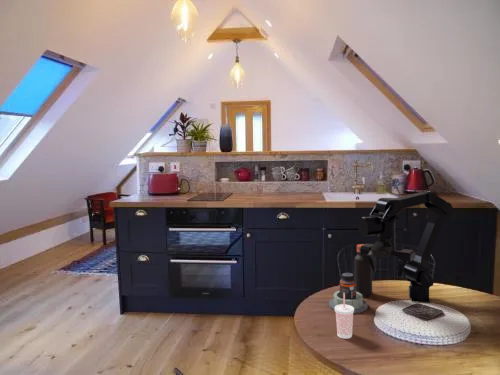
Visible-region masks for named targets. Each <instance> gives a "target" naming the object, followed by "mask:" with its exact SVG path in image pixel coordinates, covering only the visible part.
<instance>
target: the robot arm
mask: <svg viewBox="0 0 500 375" xmlns="http://www.w3.org/2000/svg"><path fill="white" fill-rule="evenodd" d="M420 205H423V206H424V207H425V208H426V209H427V210H426V218H427V223H426V226H425V228H424V231H423V233H422V236H421V239H420V242H419V243H418V246H417V248H416V251H415V250H413V249H407V248H403V249H402V250H396V249H397V245H396V239H397V235H396V221H400V220H401V217H399V216H398V214H400V213H401V212H402V211H403V210H405V209H409V208H411V207H416V206H420ZM453 212H454V207H453V205H452V203H451V202H449V201H446V200H445V199H443V198H442V197H440V196H438V195H437V194H436V193H434V192H433V191H429V190H422V191H420V192H415V193H411V194H407V195H403V196H399V197H380V198H378V199H377V200H376V203H375V205H374V207H373V208H372V210H371V211H370V213H369V215H368V216H362V217H361V220H360V222H359V223H358V226H357V230H358V233H359V234H360V235H361V237H369V236H370V237H371V236H376V241H375V243H374V244H373V243H363V244H364V245H362V246H361V247H360V254H363V256H365V257H367V258H368V260H369V262H370V264H371V267H372V273H373V274H375V273H376V271H377V258H379V259H385V258H387V256H394V257H398V260H397V263H398V269H397V277H398V278H401V277H402V274H404V276H405V278H406V281H407V282H409V285H408V297H409V299H410V300H411V302H413V301H418V302H417V303H431V299H430V288H431V287H433V286H434V283H435V280H434V279H433V278H432V277H431V275H429V273H430V265H429V260H430V257H431V255H432V251H433V249H434V247H435V244H436V241H437V239H438V237H439V234H440V231H441V229H442V226H443V225H444V224H446V223H447V222H448V221H449V220H450V218H451V216H452V215H453Z"/></svg>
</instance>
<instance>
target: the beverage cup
mask: <svg viewBox="0 0 500 375" xmlns="http://www.w3.org/2000/svg"><path fill="white" fill-rule="evenodd" d="M334 312H335V321H336V333H337V334H336V335H337V336H338V338H340V339H351V338H352V337H353V326H354V325H353V323H354V314H353V312H354V307H352V306H350V305H346V304H345V293H343V304H340V305H336V306H335V311H334Z"/></svg>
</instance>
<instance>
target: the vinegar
mask: <svg viewBox="0 0 500 375" xmlns="http://www.w3.org/2000/svg"><path fill="white" fill-rule="evenodd" d="M364 244H365V243H360V244H356V253H357V254H356V255H355V256H354V258H353V259H354V263H353V264H354V265H353V266H354V280H355V281H356V292H359V293H360V294H362V297H363V298H369V297H372V296H373V270H372V267H371V264H370V262H369V260H368V258H367V257H365V256H363V254H360V247H361V246H362V245H364Z"/></svg>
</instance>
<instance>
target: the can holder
mask: <svg viewBox="0 0 500 375" xmlns="http://www.w3.org/2000/svg"><path fill="white" fill-rule="evenodd" d="M340 304H343V299H342V298H340V290H336V291H335V292H334V293H333V298H331V299H330V300H329V301H328V306H329V308H330V309H331V310H333V311H334V312H335V306H336V305H340ZM345 304H346V305H350V306H352V307H354V312H353V315H354V314H360V313H363V312H366V311H367V309H368V303H367V301H365V300H364V297H362V294H360V293H359V292H356V299H353V300H346V299H345Z"/></svg>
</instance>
